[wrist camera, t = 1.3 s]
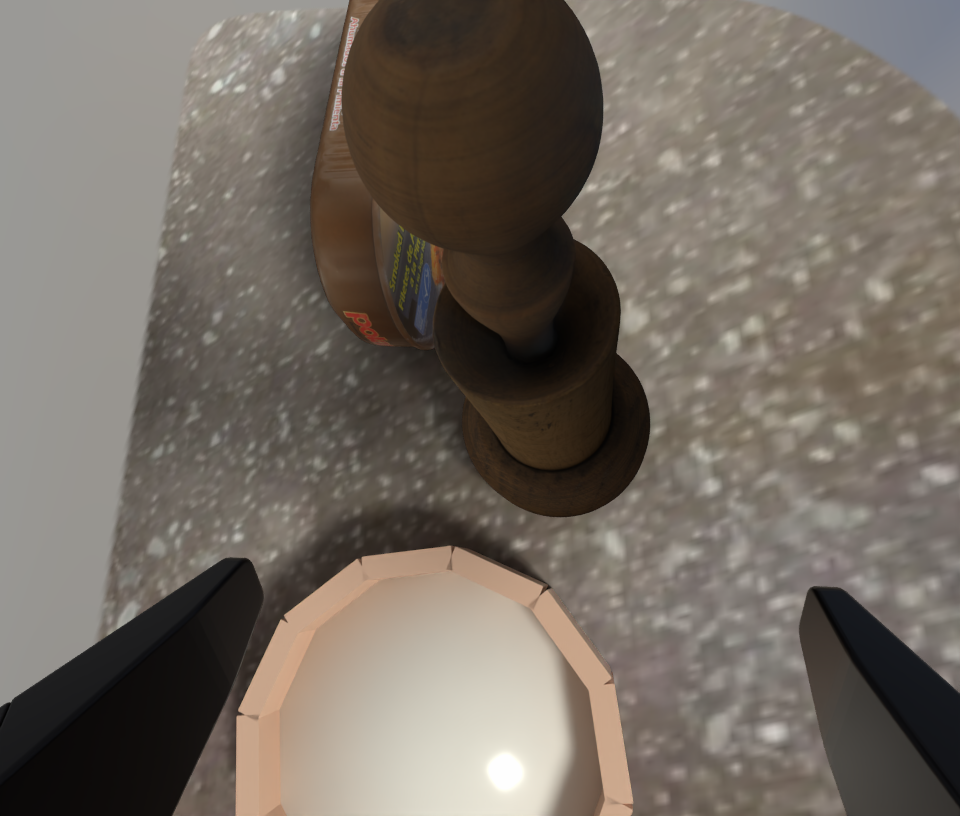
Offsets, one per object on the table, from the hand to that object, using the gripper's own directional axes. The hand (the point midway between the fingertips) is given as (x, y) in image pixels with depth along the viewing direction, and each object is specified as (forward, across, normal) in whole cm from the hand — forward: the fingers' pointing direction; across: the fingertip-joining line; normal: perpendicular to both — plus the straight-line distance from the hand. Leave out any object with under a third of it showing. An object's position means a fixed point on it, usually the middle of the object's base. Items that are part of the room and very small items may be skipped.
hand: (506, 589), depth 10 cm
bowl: (+5, +4, +13) cm, 14 cm away
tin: (+20, +5, -2) cm, 21 cm away
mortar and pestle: (+13, 0, +5) cm, 14 cm away
